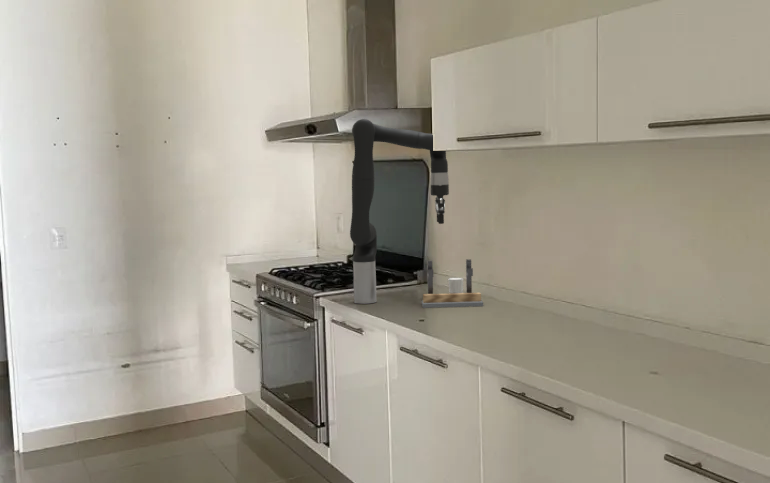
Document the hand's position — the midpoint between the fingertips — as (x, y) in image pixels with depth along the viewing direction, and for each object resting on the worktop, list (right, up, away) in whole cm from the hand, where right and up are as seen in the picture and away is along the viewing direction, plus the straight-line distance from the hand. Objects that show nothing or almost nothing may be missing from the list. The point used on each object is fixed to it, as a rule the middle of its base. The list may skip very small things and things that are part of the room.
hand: (440, 222), depth 316 cm
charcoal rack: (+4, -32, -3) cm, 33 cm away
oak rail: (+4, -32, -11) cm, 34 cm away
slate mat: (+4, -33, -11) cm, 35 cm away
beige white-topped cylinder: (+8, -31, +13) cm, 35 cm away
